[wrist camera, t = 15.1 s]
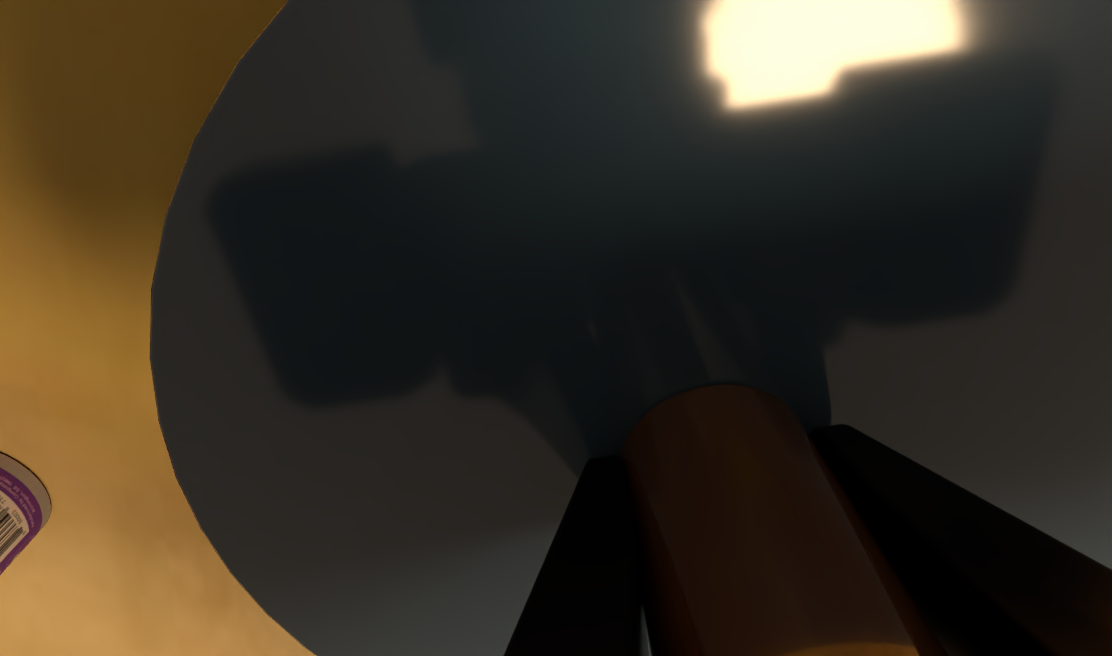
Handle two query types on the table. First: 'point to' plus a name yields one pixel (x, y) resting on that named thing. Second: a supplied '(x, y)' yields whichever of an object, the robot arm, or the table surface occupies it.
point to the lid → (635, 304)
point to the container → (19, 509)
